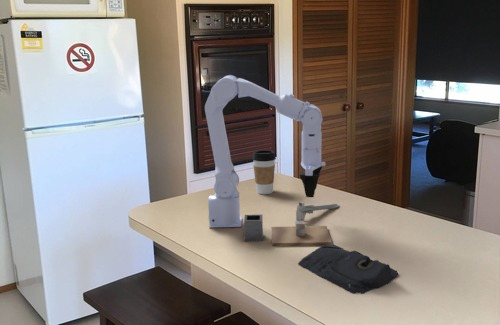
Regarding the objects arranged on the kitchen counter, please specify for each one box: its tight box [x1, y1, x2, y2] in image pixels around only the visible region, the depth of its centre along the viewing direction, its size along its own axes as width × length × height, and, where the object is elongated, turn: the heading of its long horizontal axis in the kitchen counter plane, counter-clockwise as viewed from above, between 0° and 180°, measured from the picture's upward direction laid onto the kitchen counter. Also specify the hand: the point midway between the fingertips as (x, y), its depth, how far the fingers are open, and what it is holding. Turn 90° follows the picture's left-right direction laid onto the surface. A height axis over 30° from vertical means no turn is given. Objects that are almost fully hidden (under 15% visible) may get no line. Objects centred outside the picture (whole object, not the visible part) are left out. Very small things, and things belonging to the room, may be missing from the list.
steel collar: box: [243, 214, 264, 242], centre depth 147 cm, size 5×5×6 cm
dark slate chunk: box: [297, 243, 400, 295], centre depth 126 cm, size 15×22×5 cm
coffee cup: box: [252, 149, 277, 195], centre depth 187 cm, size 8×8×15 cm
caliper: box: [295, 201, 340, 222], centre depth 165 cm, size 20×1×6 cm, turn 134°
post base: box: [270, 220, 333, 247], centre depth 147 cm, size 16×12×5 cm
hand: (311, 192), depth 155 cm, fingers open, 7 cm apart
